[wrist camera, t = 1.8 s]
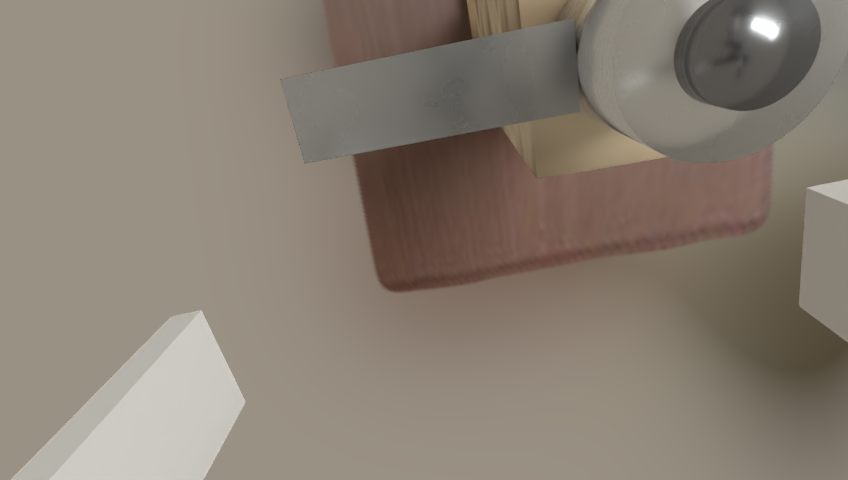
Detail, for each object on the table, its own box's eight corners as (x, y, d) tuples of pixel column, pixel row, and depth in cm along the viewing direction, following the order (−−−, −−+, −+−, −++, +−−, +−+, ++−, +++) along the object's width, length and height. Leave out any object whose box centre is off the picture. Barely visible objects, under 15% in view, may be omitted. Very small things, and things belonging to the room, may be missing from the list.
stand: (465, -9, 43) (496, -81, 18) (565, -31, 42) (743, -139, 17) (482, 113, 47) (527, 191, 22) (574, 95, 46) (729, 156, 21)
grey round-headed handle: (303, 35, 20) (200, 28, 12) (699, -51, 18) (920, -132, 10) (339, 172, 22) (275, 251, 14) (695, 106, 21) (874, 151, 12)
